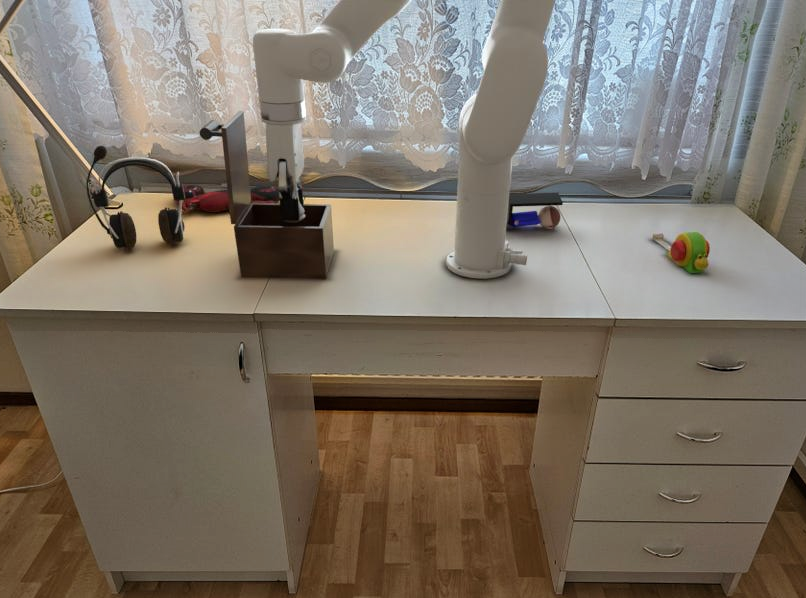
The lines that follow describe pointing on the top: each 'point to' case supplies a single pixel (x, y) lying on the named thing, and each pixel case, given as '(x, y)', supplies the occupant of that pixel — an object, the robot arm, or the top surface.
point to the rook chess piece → (301, 209)
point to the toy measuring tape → (687, 250)
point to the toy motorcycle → (224, 197)
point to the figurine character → (546, 216)
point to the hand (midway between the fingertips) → (292, 213)
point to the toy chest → (284, 242)
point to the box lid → (233, 161)
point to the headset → (122, 222)
